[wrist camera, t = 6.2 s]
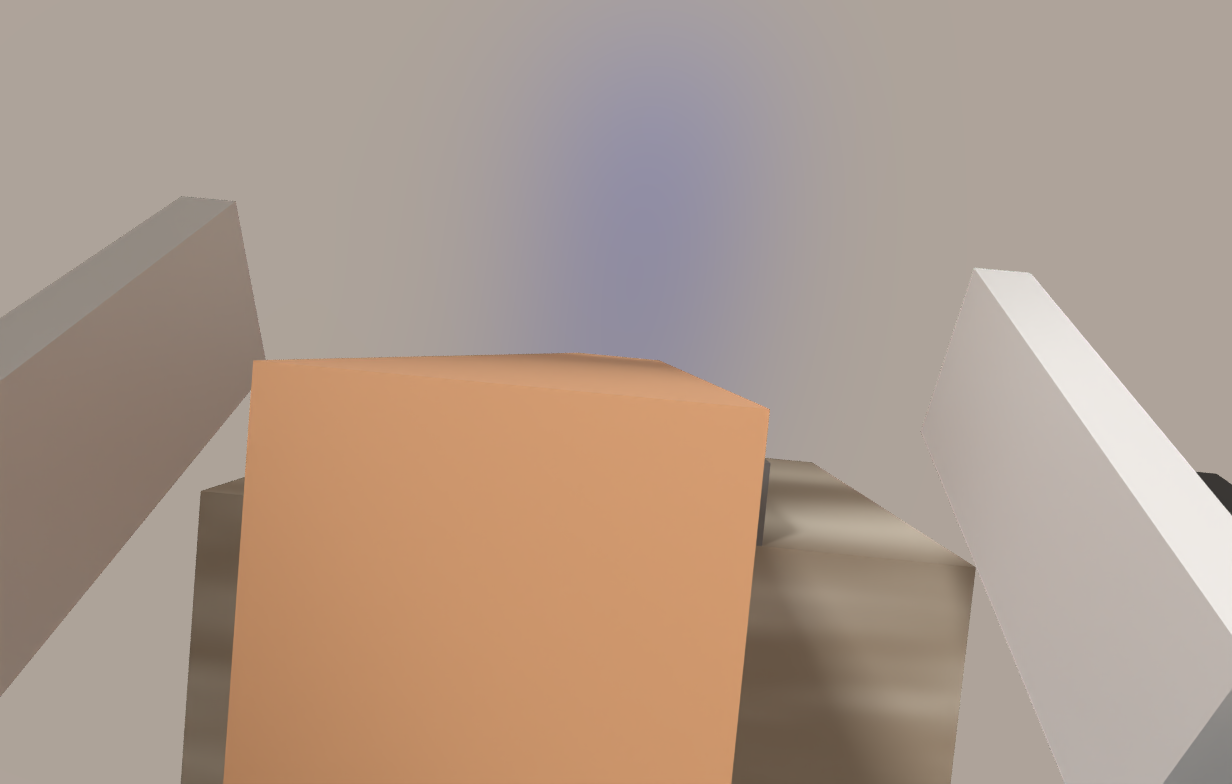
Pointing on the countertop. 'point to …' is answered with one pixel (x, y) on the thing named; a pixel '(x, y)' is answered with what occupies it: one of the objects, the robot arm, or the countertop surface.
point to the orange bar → (492, 572)
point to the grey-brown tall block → (775, 643)
